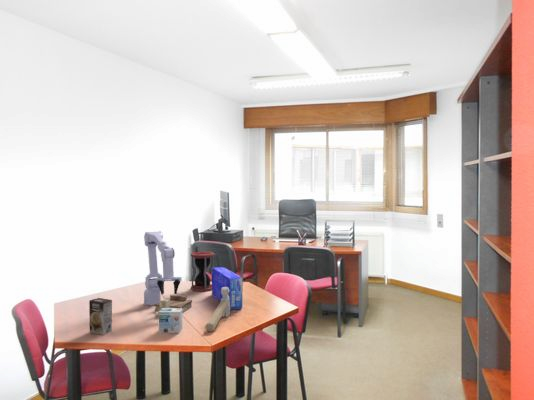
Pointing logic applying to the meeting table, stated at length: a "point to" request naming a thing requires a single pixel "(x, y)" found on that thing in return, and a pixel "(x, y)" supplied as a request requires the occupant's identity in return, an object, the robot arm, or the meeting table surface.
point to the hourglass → (202, 271)
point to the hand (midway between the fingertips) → (169, 294)
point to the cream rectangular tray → (182, 308)
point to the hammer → (220, 310)
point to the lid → (177, 301)
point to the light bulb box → (170, 320)
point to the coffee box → (100, 316)
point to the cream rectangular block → (164, 303)
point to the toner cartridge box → (230, 280)
